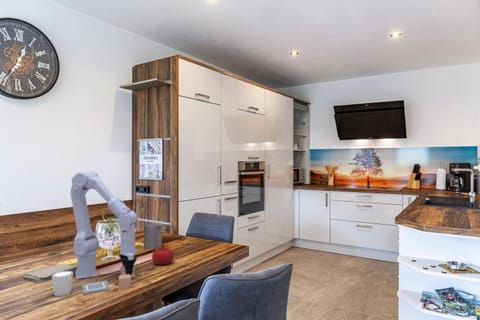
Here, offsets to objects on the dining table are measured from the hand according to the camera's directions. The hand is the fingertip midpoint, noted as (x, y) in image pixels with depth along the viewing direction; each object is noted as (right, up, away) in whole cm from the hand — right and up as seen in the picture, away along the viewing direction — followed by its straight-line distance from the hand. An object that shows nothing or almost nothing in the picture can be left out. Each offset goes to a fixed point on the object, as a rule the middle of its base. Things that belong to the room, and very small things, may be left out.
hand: (127, 272), depth 135 cm
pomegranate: (+10, -2, +18) cm, 21 cm away
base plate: (-8, -1, -12) cm, 15 cm away
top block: (+3, -2, -11) cm, 12 cm away
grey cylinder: (-18, -2, -17) cm, 25 cm away
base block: (0, -1, 0) cm, 1 cm away
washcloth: (-34, -3, +3) cm, 34 cm away
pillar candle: (-2, -3, +47) cm, 47 cm away
